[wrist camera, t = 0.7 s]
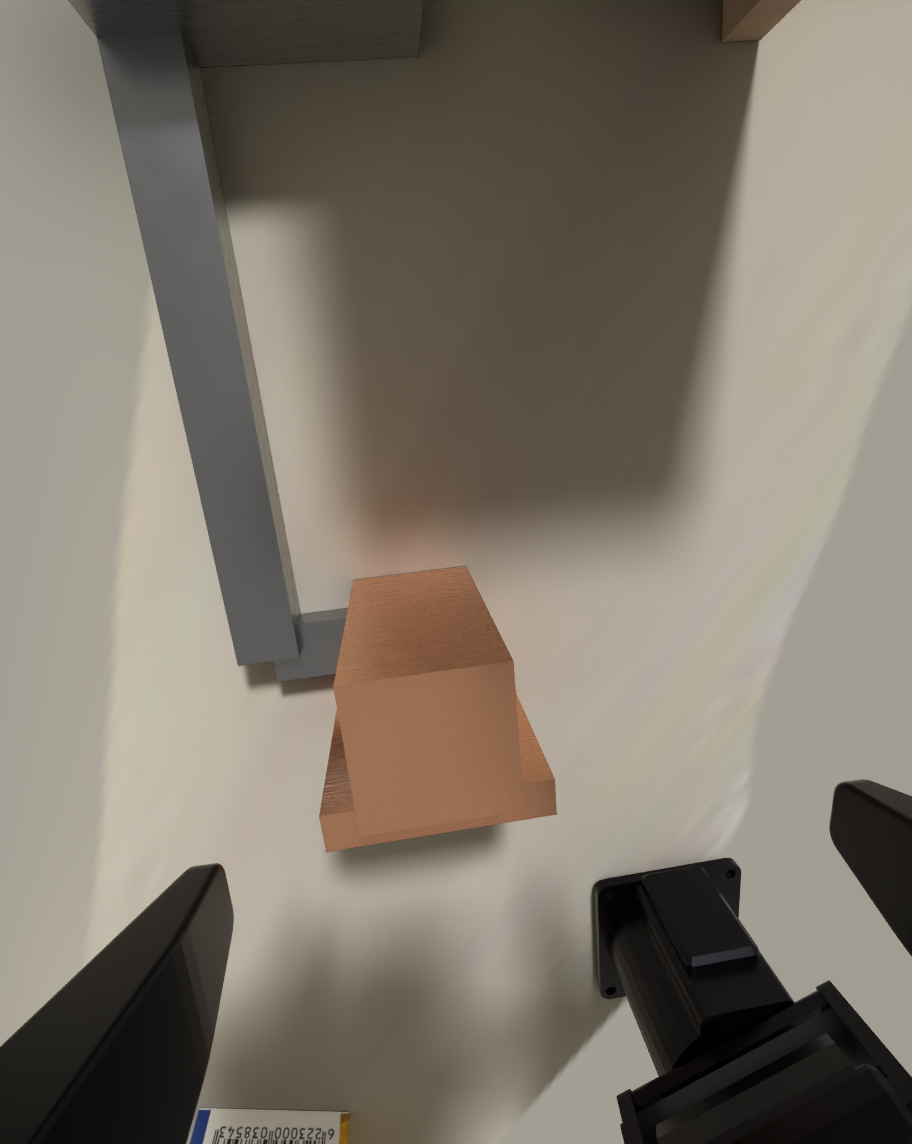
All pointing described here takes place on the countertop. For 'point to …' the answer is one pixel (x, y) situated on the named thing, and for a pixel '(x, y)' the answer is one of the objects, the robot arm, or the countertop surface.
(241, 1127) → the beverage box
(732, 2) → the spice cubby
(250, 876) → the countertop surface
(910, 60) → the countertop surface
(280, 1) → the grey brown long block
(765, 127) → the countertop surface
